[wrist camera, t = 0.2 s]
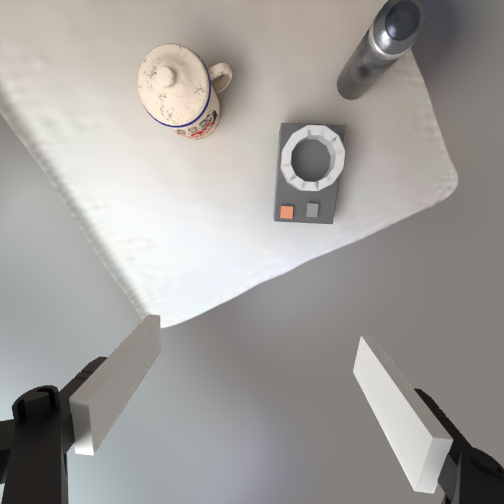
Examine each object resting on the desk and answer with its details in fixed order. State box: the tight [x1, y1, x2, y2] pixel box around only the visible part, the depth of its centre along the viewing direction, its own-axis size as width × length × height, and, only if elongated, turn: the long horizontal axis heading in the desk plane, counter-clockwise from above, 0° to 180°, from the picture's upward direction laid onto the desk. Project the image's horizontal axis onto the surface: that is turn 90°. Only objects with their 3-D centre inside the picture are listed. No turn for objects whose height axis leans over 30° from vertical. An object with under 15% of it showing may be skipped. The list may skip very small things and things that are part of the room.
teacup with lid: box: [138, 44, 232, 140], centre depth 32 cm, size 12×9×12 cm
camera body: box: [273, 123, 345, 224], centre depth 36 cm, size 14×9×6 cm, turn 177°
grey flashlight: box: [337, 0, 426, 100], centre depth 29 cm, size 5×5×13 cm
